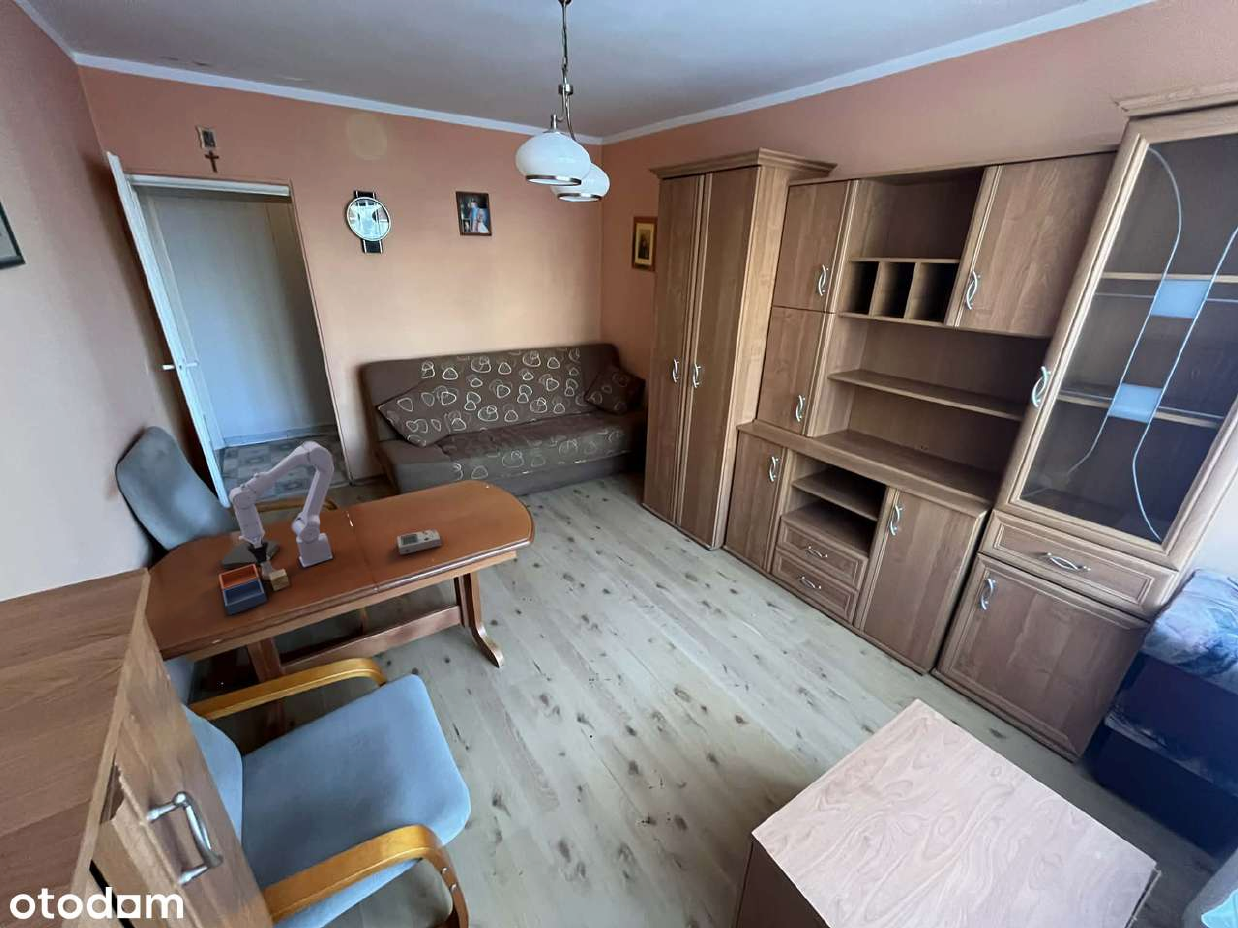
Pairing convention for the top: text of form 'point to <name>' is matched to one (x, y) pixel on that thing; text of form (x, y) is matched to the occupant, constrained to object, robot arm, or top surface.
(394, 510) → the top surface
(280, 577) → the beech block
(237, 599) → the blue bin
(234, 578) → the terracotta bin
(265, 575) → the rook chess piece
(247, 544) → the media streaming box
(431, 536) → the handheld gaming device
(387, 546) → the top surface
